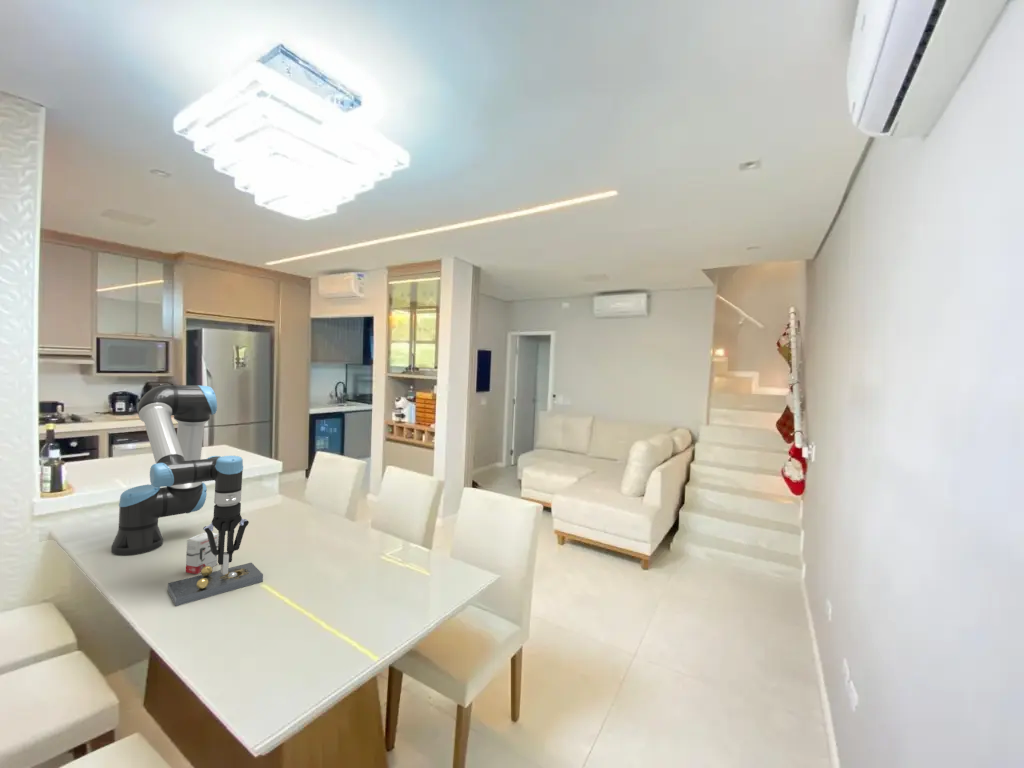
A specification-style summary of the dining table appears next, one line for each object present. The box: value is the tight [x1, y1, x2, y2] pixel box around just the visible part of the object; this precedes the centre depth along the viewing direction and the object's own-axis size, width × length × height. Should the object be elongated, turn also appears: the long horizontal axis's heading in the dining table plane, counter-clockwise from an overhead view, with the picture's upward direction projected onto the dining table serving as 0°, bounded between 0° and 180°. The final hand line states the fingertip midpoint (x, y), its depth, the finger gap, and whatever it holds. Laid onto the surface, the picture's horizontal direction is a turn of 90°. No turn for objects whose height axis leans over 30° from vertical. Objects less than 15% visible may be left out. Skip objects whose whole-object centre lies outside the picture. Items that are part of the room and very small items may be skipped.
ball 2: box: [196, 578, 209, 589], centre depth 138 cm, size 3×3×3 cm
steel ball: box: [227, 572, 238, 577], centre depth 148 cm, size 3×3×3 cm
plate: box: [167, 561, 264, 607], centre depth 145 cm, size 24×12×2 cm, turn 137°
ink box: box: [185, 531, 219, 575], centre depth 155 cm, size 9×5×12 cm, turn 168°
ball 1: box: [200, 566, 214, 576], centre depth 146 cm, size 3×3×3 cm
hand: (224, 572), depth 146 cm, fingers closed
